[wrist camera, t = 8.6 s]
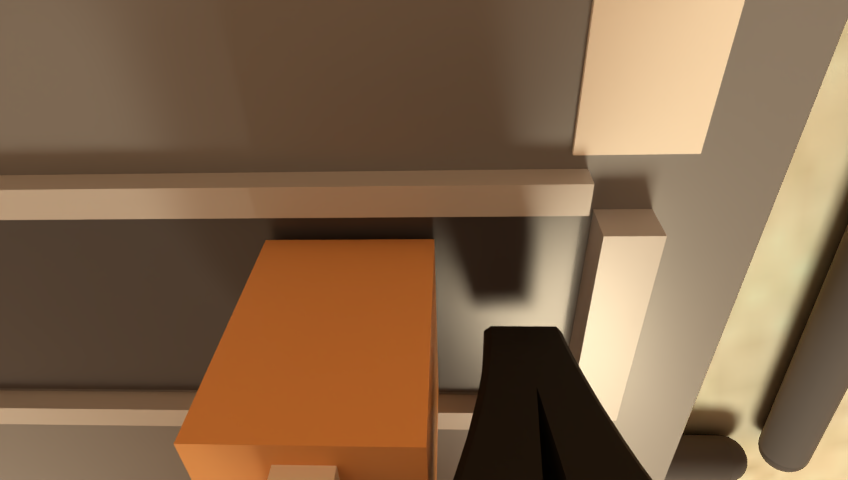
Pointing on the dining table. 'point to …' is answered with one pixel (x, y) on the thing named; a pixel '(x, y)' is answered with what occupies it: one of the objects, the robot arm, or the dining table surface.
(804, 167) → the dining table surface
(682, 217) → the grey framed board
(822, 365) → the cord
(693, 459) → the cord
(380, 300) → the lever
